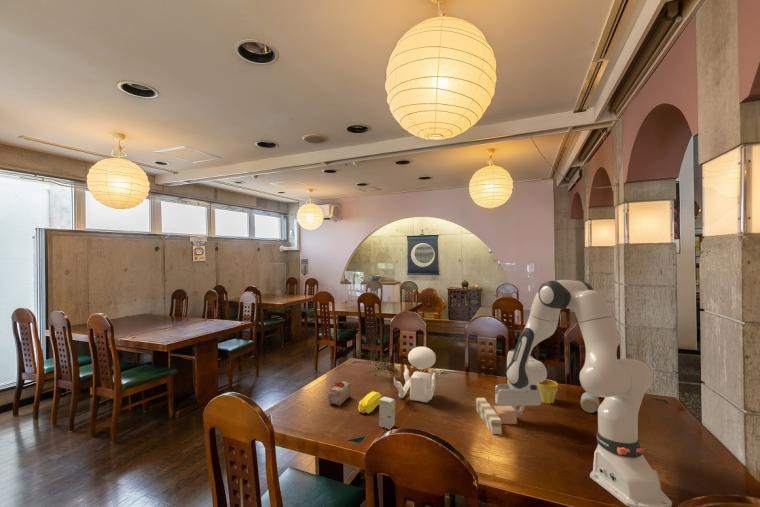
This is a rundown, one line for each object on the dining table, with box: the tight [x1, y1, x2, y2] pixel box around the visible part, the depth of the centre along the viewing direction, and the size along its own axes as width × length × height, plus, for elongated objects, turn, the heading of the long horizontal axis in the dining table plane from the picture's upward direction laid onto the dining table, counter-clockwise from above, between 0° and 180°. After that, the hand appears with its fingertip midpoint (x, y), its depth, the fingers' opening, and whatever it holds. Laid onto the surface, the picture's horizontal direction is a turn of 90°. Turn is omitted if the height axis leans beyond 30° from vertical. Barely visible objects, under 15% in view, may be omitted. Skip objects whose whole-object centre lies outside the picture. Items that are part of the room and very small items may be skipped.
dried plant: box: [334, 336, 401, 377], centre depth 221 cm, size 30×31×45 cm
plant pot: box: [537, 378, 559, 405], centre depth 181 cm, size 10×10×10 cm
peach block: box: [493, 405, 518, 425], centre depth 161 cm, size 8×8×5 cm
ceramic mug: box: [580, 391, 601, 414], centre depth 168 cm, size 11×8×8 cm
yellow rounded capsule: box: [358, 390, 383, 414], centre depth 176 cm, size 18×7×8 cm
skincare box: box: [378, 396, 396, 430], centre depth 157 cm, size 6×4×12 cm
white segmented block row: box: [475, 397, 503, 435], centre depth 160 cm, size 24×4×6 cm, turn 0°
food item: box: [327, 381, 351, 406], centre depth 186 cm, size 14×8×10 cm, turn 161°
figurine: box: [393, 346, 437, 403], centre depth 188 cm, size 24×20×28 cm
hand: (518, 414), depth 160 cm, fingers closed
